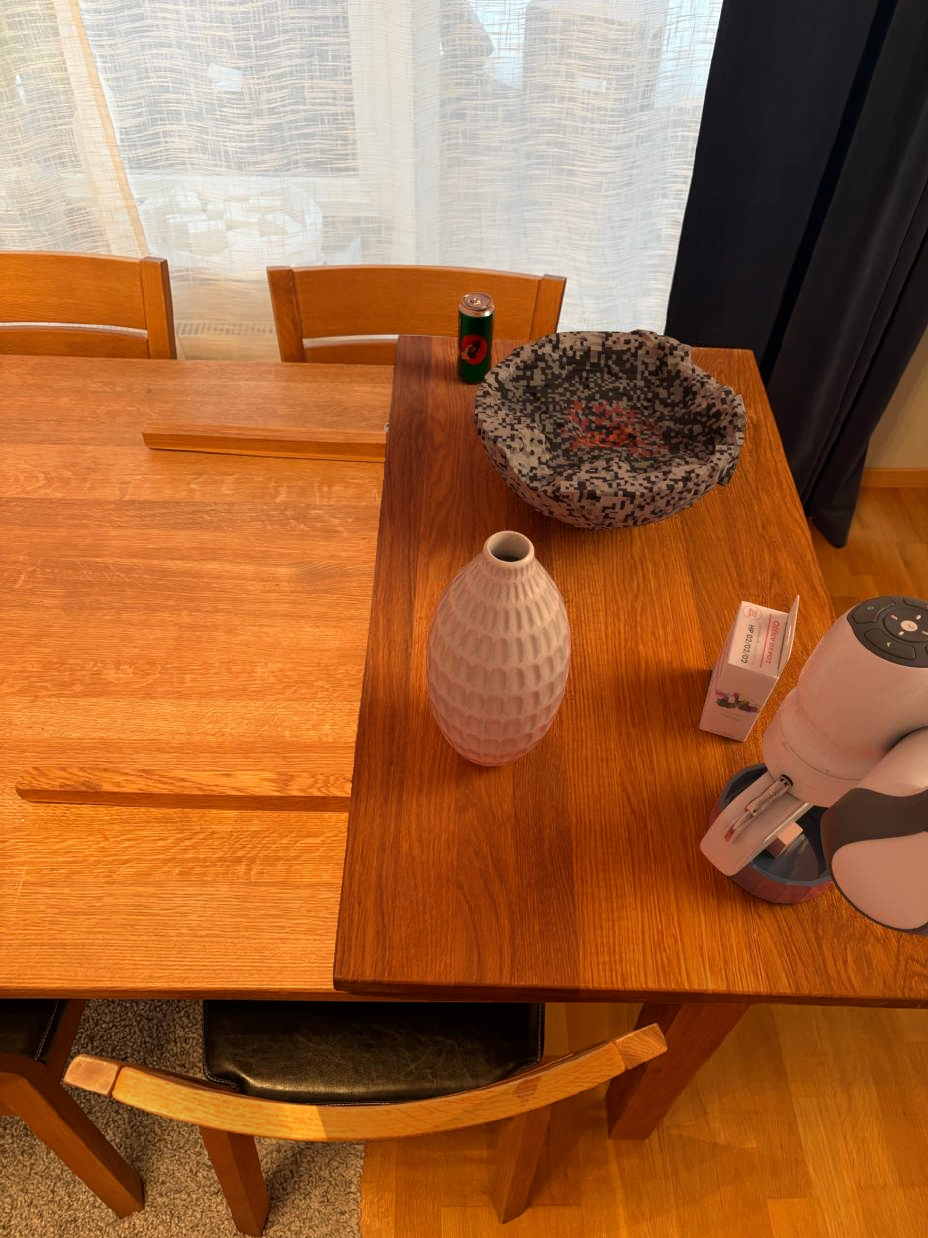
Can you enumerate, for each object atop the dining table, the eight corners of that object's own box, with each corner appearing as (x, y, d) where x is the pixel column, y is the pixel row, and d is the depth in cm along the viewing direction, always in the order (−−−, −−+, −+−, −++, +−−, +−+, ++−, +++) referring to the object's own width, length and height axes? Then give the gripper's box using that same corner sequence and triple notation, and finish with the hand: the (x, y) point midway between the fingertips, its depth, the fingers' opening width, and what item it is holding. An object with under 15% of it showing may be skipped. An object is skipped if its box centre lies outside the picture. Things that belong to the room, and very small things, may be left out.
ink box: (710, 667, 93) (749, 577, 82) (756, 681, 92) (802, 591, 81) (696, 729, 88) (736, 642, 77) (745, 745, 87) (792, 659, 76)
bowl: (695, 421, 120) (724, 326, 109) (733, 588, 101) (772, 493, 89) (473, 412, 120) (478, 315, 109) (467, 577, 100) (471, 480, 89)
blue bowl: (852, 824, 82) (871, 803, 78) (813, 932, 75) (831, 913, 72) (733, 764, 86) (746, 741, 82) (686, 861, 79) (698, 840, 76)
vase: (536, 812, 82) (575, 629, 60) (409, 777, 84) (402, 588, 62) (563, 705, 90) (606, 509, 68) (447, 676, 91) (452, 476, 70)
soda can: (497, 379, 125) (502, 304, 116) (467, 389, 124) (470, 314, 114) (479, 361, 128) (483, 287, 119) (450, 371, 126) (451, 295, 117)
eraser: (792, 843, 80) (804, 829, 78) (774, 859, 79) (785, 845, 77) (751, 804, 82) (761, 789, 80) (733, 819, 81) (742, 804, 79)
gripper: (770, 852, 63) (720, 919, 74) (928, 711, 71) (863, 790, 82) (706, 790, 66) (667, 863, 77) (865, 662, 74) (809, 744, 85)
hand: (769, 824), depth 79 cm, fingers closed on eraser, 2 cm apart
